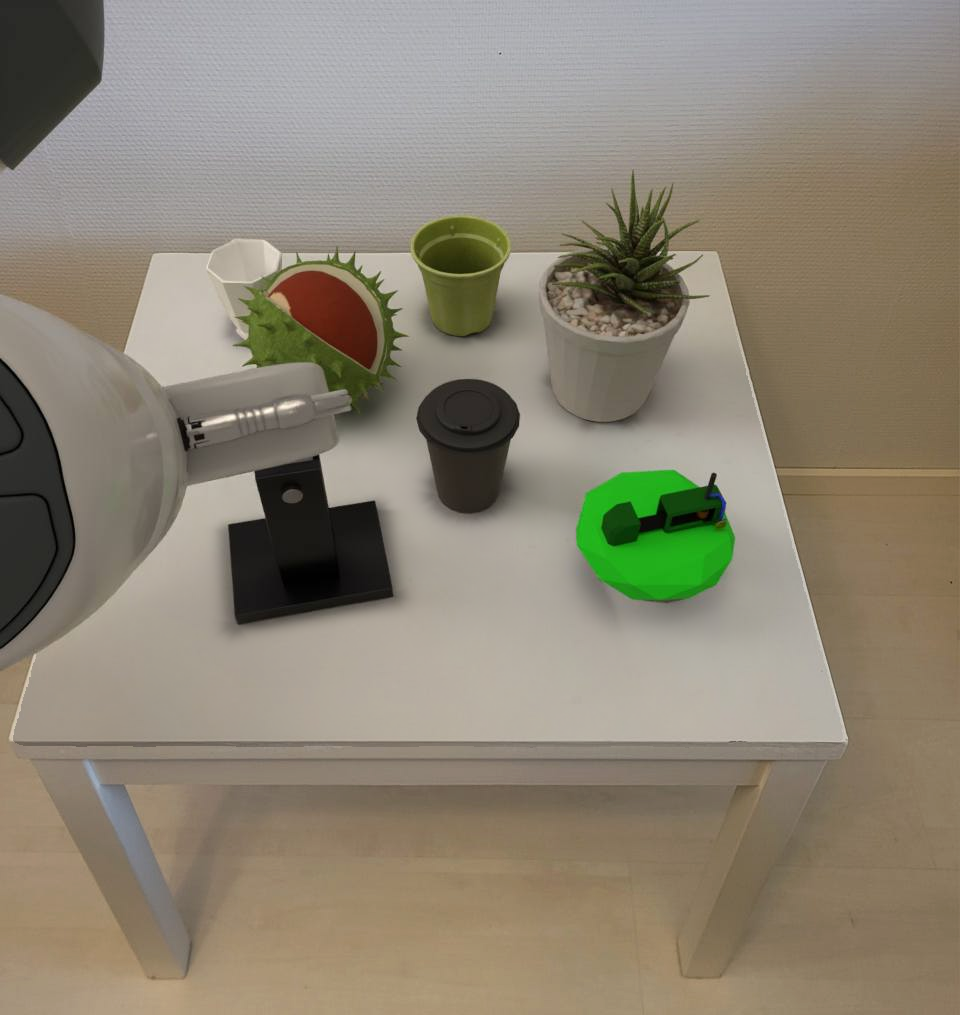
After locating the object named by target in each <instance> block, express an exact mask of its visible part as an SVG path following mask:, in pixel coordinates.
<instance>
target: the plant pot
mask: <svg viewBox="0 0 960 1015" xmlns="http://www.w3.org/2000/svg"><path fill="white" fill-rule="evenodd" d="M409 248H410V255H411V257H412V260H413V261H414V262H415V264H416V265H417V267H418V269H419V271H420V272H421V276H422V282H423V285H424V290H425V294H426V299H427V303H428V309H429V313H430V317H431V320H432V322H433V324H434V325H435V327H436V328H437V329H438V330H439V331H441V332H442V333H445V334H447V335H450V336H455V337H467V336H468V335H471V334H473V333H481V332H484V331H485V330H486V329H488V327H489V326H490V325H491V323H492V321H493V317H494V311H495V307H496V306H495V305H496V300H497V296H498V289H499V284H500V279H501V278H500V277H501V273H502V271H503V268H504V266H505V264H506V262H507V261H508V260H509V257H510V255H511V252H512V241H511V238H510V236H509V235H508V233H507V231H506V230H504V229H503V227H502V226H499V225H498V224H497V223H495V222H494V221H492V220H490V219H486V218H484V217H479V216H475V215H466V214H457V215H449V216H443V217H439V218H436V219H432V220H431V221H428V222H426V223H425V224H424V225H422V226H421V227H419V228H418V229H417V230H416V232H414V234H413V235H412V237H411V240H410V247H409Z"/></svg>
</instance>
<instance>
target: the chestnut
mask: <svg viewBox="0 0 960 1015" xmlns="http://www.w3.org/2000/svg"><path fill="white" fill-rule="evenodd" d="M295 254H296V263H295V264H292V265H288V266H286V267H284V268H282V270H281V271H279V272H278V273H276V275H275V276H274V277H273V279H272V280H271V281H269V280H267V279H265V278H264V277H263V276H261V277H262V278H263V280H264V281H265V283H266V284H267V286H266V288H265V289H264V290H263V289H253V288H250V287H246V286H244V287H245V288H247V289H248V290H249V291H250V292H251V293H252V294H253V295H254V296H255V298H254V299H253V300H243V299H240V298H238V299H239V300H240V301H242V302H243V303H245V304H246V305H247V306H248V307H249V308H247V309H249V310H251V312H250V315H248V316H239V317H235V318H238V319H240V320H242V322H243V323H245V324H247V325H249V335H248V338H247V339H246V340H244V341H241V342H239V343H235V344H232V346H233V347H244V348H247V349H249V350H250V352H251V355H252V357H251V358H249V360H247V361H246V362H245V363H244V364H242V366H241V367H242V368H243V367H246V366H252V365H256V367H255V368H259V367H265V366H271V365H278V364H285V363H300V362H311V363H315V364H318V365H320V366H321V367H322V369H323V371H324V375H325V379H326V382H327V386H328V390H329V392H333V391H338V390H343V389H346V390H347V391H348V394H347V395H349V396H351V398H352V403H351V404H350V405H351V406H352V407H353V408H354V409H355V410H356V411H357V412H358V414H359V415H361V411H360V406H359V403H358V402H359V398H360V397H361V398H362V399H363V401H364V402H365V403H367V400H369V395H368V393H367V391H369V390H370V389H371V388H372V387H374V388H376V389H379V391H381V392H384V390H383V389H382V388H381V386H380V384H381V385H383V382H382V381H381V380H380V378H383V377H385V378H388V379H392V380H393V381H398V379H396V377H394V376H393V375H392V374H391V373H390V372H389V371H388V369H387V367H389V366H392V367H393V366H394V367H398V368H403V366H402V365H400V364H399V363H397V362H396V361H394V360H393V358H392V357H391V353H392V352H393V351H394V352H395V351H403V349H402V348H400V347H399V346H396V345H395V344H394V342H395V340H396V339H401V338H408V337H410V335H407V334H405V333H402V332H399V331H397V330H395V328H394V322H393V320H392V317H395V316H397V315H398V314H397V312H400V311H402V310H403V309H404V308H403V307H399V308H390V307H388V306H389V305H388V304H389V301H390V299H392V297H393V296H394V295H395V294H397V292H399V290H398V289H397V290H394V291H391V292H388V293H383V292H380V290H379V288H380V286H381V285H382V284H383V282H385V279H384V278H383V279H382V280H379V281H378V279H379V277H380V275H381V273H382V271H381V270H379V272H378V273H377V274H376V275H373V276H372V277H367V276H366V275H364V273H362V268H363V265H360V267H359V268H358V269H357V268H356V265H355V263H356V250H354V252H353V254H352V256H351V257H350V259H349V260H348V261H347V262H345V263H344V262H342V261H340V256H339V245H336V248H335V253H334V254H333V257H332V258H331V257H330V253H329V252H328V253H327V258H326V260H320V259H319V260H304V261H302V259H301V258H300V256H299V253H298V252H297V251H296V253H295ZM377 281H378V282H377ZM334 416H335V421H337V420H338V414H334Z"/></svg>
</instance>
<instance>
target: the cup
mask: <svg viewBox="0 0 960 1015" xmlns="http://www.w3.org/2000/svg"><path fill="white" fill-rule="evenodd" d="M209 255H210V256H209V258H208V262H207V264H206V267H205V270H206V272H207V274H208V276H209V279H210V281H211V283H212V285H213V287H214V289H215V292H216V293H217V297H218V298H219V301H220V302H221V305H222V307H223V309H224V311H225V312H226V314H227V316H228V318H229V319H230V321H231V322H232V324H233V325H234V326H235V327H236V329H235V331H236V334H237V335H238V336H240V337H241V338H242V339H243V340H244V341H245V340H246V339H247V338H248V335H249V325H247V324H245V323H243V322H242V320H240V319H238V318H235V317H239V316H248V315H250V312H251V310H249V309H247V308H249V307H248V306H247V305H246V304H245V303H243V302H242V301H240V300H239V299H238V298H240V299H243V300H253V299H254V298H255V296H254V295H253V294H252V293H251V292H250V291H249V290H248V289H247V288H245V287H244V286H246V287H250V288H253V289H263V290H264V289H265V288H266V286H267V284H266V283H265V281H264V280H263V278H262V277H261V276H263V277H264V278H265V279H267V280H269V281H271V280H272V279H273V277H274V276H275V275H276V273H278V272H279V271H281V270H283V256H282V255H283V253H282V252H281V251H280V250H279V249H277V247H275V246H274V245H272V244H271V243H270V242H268V240H266V239H253V238H239V237H238V238H233V239H231V241H229V242H227V243H225V244H223V245H220V246H219V247H217V248H214V249H212V250H211V252H210V254H209Z"/></svg>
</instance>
